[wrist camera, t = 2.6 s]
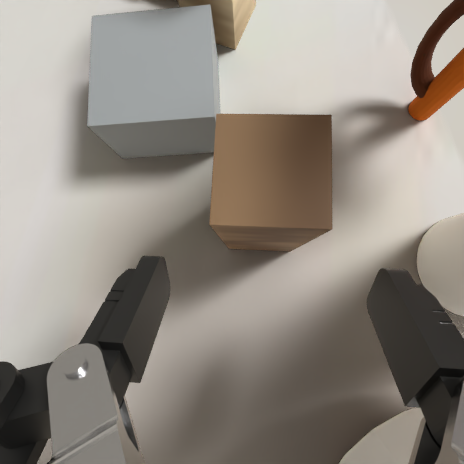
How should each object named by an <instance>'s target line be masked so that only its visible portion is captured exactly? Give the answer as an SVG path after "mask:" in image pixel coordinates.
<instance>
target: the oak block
mask: <svg viewBox="0 0 464 464" xmlns="http://www.w3.org/2000/svg"><path fill="white" fill-rule="evenodd" d="M178 2H179V6H180V7H189V6H199V5H210V6H211V13H212V20H213V27H214V34H215V42H216V44H219V45H222V46H226V47H229V48H232V49H236V47H237V45H238V43H239V41H240V38H241V36H242V34H243V32H244V30H245V28H246V25H247V23H248V21H249V19H250V17H251V15H252V12H253V10H254V8H255V6H256V0H178Z"/></svg>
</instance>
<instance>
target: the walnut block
mask: <svg viewBox="0 0 464 464" xmlns="http://www.w3.org/2000/svg"><path fill="white" fill-rule="evenodd" d="M209 225H210V226H211V227H212V228H213V230H214V231H215V232H216V233H217V235H218V236H219V237H220V238H221V240H222V241H223V242H224V243H225V245H226V246H227V247H228V248H229V249H246V250H269V251H292V250H294V249H296V248H298V247H300V246H301V245H303V244H305V243H307V242H309V241H311V240H313V239H315V238H317V237H319V236H320V235H322V234H324V233H326V232H328V231H330V230H332V121H331V115H284V114H216V127H215V143H214V159H213V175H212V191H211V207H210V223H209Z"/></svg>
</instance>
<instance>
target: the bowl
mask: <svg viewBox="0 0 464 464" xmlns="http://www.w3.org/2000/svg"><path fill="white" fill-rule="evenodd" d="M423 417H424V415H423V413H422V411H421V408H419V407H416V408H413V409H410V410H407V411H403V412H401V413H400V414H398V415H396V416H394V417H393V418H391V419H389V420H388V421H386V422H384V423H382V424H381V425H379V426H377V427H375V428H374V429H372V430H371V431H370V432H369V433H368V434H367V435H365V436H364V437H363V438H362V439H361V440H360V441H359V442H358V443H357V444H356V445H355V446H354V447H353V448H351V449H350V450H349V451H348V452H347V453H346V454H345V455H344V457H343V458H342V460H341V461H340V462H339V464H408V463H409V460H410V457H411V453H412V450H413V446H414V443H415V439H416V436H417V432H418V429H419V425H420V422H421V420H422V418H423Z"/></svg>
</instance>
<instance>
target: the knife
mask: <svg viewBox="0 0 464 464" xmlns="http://www.w3.org/2000/svg"><path fill="white" fill-rule="evenodd" d="M462 15H464V0H454V1H453V2H452V3H451V4H450V5H449V6H448V7H447V8H446V9H445V10H443V11H442V13H441V14H440V15H439V16H438V18H437V19H436V20H435V21H434V23H433V24H432V25H431V26H430V28H429V29H428V31H427V32H426V34H425V36H424V38H423V39H422V41H421V42H420V44H419V46H418V49H417V51H416V54H415V57H414V59H413V62H412V69H411V82H412V87H413V89H414V91H415V93H416V95H417V97H416V98H415V99H414V100H413V101H412V102H411V103H410V105H409V108H408V111H409V114H410V115H411V116H412V117H413V118H414V119H416V120H426V119H428V118H429V117H430V116H431V115H432V114H434V113H435V112H436V111H437V110H438V109H440V108H441V107H442V106H443V105H444V104H445V103H447V102H448V101H449V100H450V99H451V98H452V97H454V96H455V95H456V94H457V93H458V92H459V91H460V90H462V89H463V88H464V48H463V49H462V50H461V51H460V52H459V53H458V54H457V55H456V56H455V57H454V58H453V60H452V61H451V62H450V63H449V64H448V65H447V66H446V67H445V68H444V69H443V70H442V71H441V72H440V73H439V74H438V75H437V76H436V77H434V75H433V73H432V69H431V60H432V55H433V52H434V49H435V47H436V45H437V43H438V41H439V40H440V38H441V37H442V35H443V34H444V33H445V31H446V30H447V29H448V28H449V27H450V26H451V25H452V24H453V23H454V22H455V21H456V20H457V19H459V18H460V17H461V16H462Z"/></svg>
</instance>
